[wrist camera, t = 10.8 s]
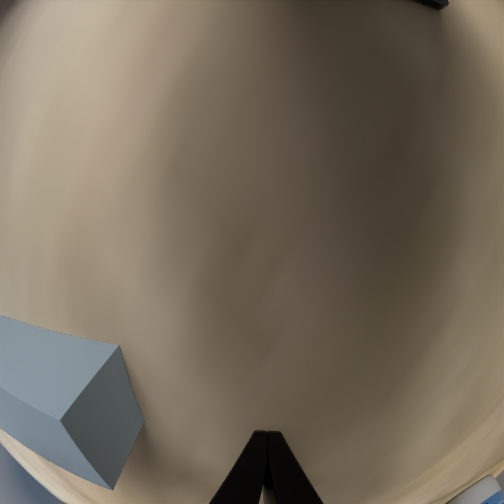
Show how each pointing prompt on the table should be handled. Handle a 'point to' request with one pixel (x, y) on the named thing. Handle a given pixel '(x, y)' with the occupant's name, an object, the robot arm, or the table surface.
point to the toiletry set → (481, 493)
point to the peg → (67, 400)
